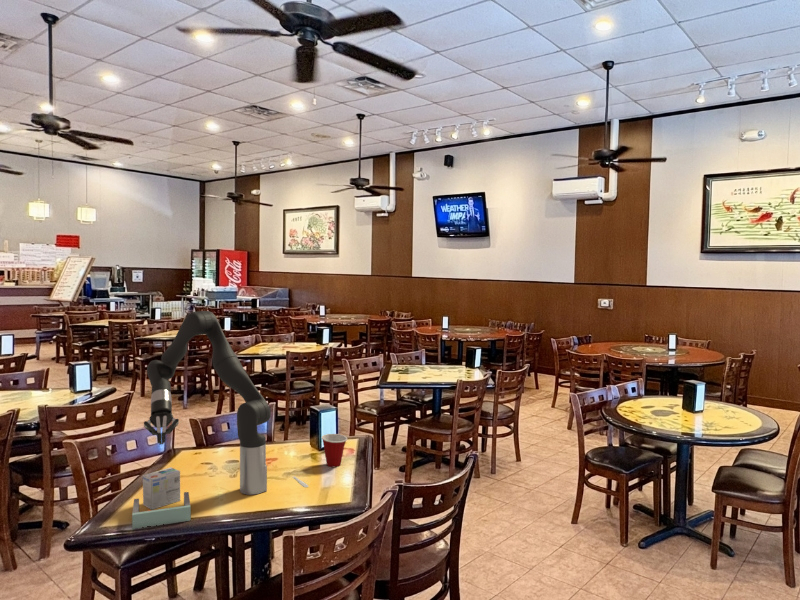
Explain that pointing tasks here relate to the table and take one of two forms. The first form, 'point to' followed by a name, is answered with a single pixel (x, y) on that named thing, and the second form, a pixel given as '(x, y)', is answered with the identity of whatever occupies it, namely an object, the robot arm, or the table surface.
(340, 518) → the table surface
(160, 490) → the light bulb box
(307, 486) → the butter knife
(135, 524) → the cradle
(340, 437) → the plastic cup
